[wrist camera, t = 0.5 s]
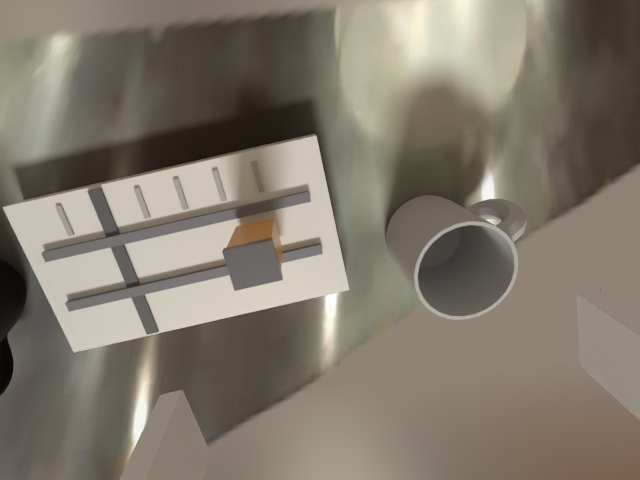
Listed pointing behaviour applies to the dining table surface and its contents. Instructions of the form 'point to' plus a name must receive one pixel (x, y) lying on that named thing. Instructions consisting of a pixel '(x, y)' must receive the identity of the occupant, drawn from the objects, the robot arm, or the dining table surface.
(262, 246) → the fader cap
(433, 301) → the cup
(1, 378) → the mug
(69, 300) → the console
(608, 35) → the dining table surface
